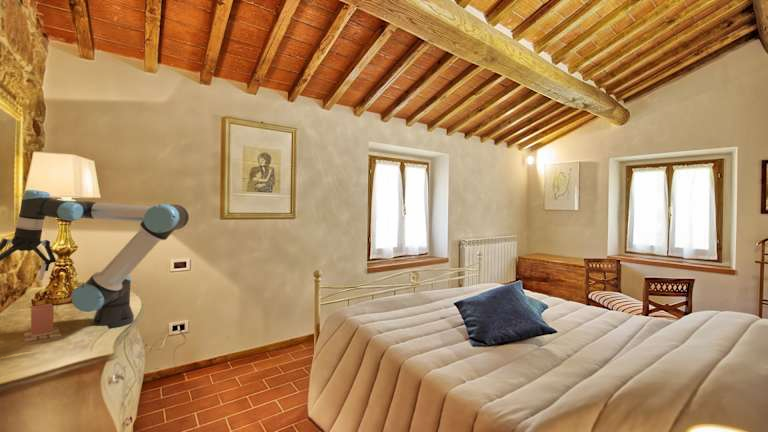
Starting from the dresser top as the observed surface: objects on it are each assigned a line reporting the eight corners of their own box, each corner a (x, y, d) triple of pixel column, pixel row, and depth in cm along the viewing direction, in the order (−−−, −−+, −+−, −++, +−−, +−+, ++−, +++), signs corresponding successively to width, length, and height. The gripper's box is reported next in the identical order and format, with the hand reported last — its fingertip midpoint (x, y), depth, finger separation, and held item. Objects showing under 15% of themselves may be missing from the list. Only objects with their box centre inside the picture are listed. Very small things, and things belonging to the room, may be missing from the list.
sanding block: (53, 333, 140) (53, 307, 140) (31, 337, 135) (32, 310, 135) (51, 328, 145) (51, 303, 145) (30, 331, 141) (31, 306, 141)
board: (61, 340, 136) (61, 337, 136) (25, 347, 129) (25, 344, 129) (57, 330, 147) (57, 327, 147) (23, 335, 139) (23, 332, 139)
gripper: (65, 228, 153) (55, 275, 153) (-19, 223, 131) (-31, 277, 131) (72, 232, 149) (61, 280, 149) (-15, 227, 128) (-27, 283, 127)
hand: (18, 279), depth 140 cm, fingers open, 13 cm apart
